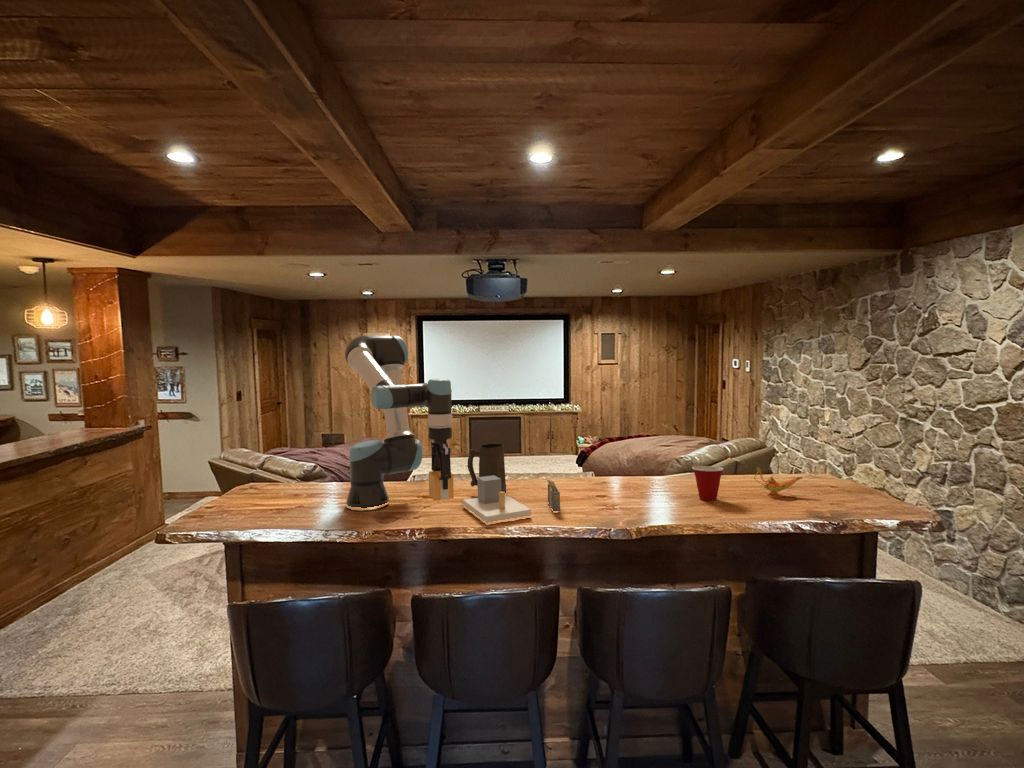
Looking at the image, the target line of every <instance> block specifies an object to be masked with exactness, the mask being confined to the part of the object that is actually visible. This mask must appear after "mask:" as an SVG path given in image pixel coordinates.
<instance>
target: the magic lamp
mask: <svg viewBox="0 0 1024 768" xmlns="http://www.w3.org/2000/svg"><path fill="white" fill-rule="evenodd" d="M756 470H757V471H756V473H755V475H754V477H753V478H754V480H755V482H757V483H759V484H761V486H763V489H762V488H760V490H762V491H764V490H767V491H770V492H769V493H767V494H766V496H767V497H770V498H774V497H775V499H776V498H782V497H783V496H782V495H781V494H779V493H778V492H782V491H784V490H785V489H787V488H790V487H791V486H793V485H794V484H795V483H796V482H798V481H799V480H801V479H803V476H798V477H795V478H792V479H790V480H787V481H780V482H777V481H776V480H775V478H774V476H773V475H771V476H770V477H769V478H768V479H767V480H765V479H764V478H763V474H762V468H761V467H757V466H756ZM758 474H759V476H760V479H761V480H762V482H764V483H762V482H760V481H758V480H757V478H756V476H757V475H758Z"/></svg>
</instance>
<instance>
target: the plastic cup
mask: <svg viewBox="0 0 1024 768" xmlns="http://www.w3.org/2000/svg"><path fill="white" fill-rule="evenodd" d="M691 468H692V470H693V473H694V477H695V481H696V486H697V487H696V488H697V491H698V497H699V500H700V501H703V502H716V501H717V498H718V492H719V489H720V482H721V478H722V474H723V471H724V467H721V466H713V465H711V466H710V465H695V466H692V467H691Z"/></svg>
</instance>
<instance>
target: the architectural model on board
mask: <svg viewBox="0 0 1024 768" xmlns="http://www.w3.org/2000/svg"><path fill="white" fill-rule="evenodd" d="M546 481H547V483H548V484H547V503H548V502H549V504H550V506H551V508H552V509H553V511H560V512H561V492H560V490H559V488H558V487H557V485H556V483H555V481H552V480H549V479H548V478H546ZM549 504H548V505H549Z"/></svg>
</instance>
